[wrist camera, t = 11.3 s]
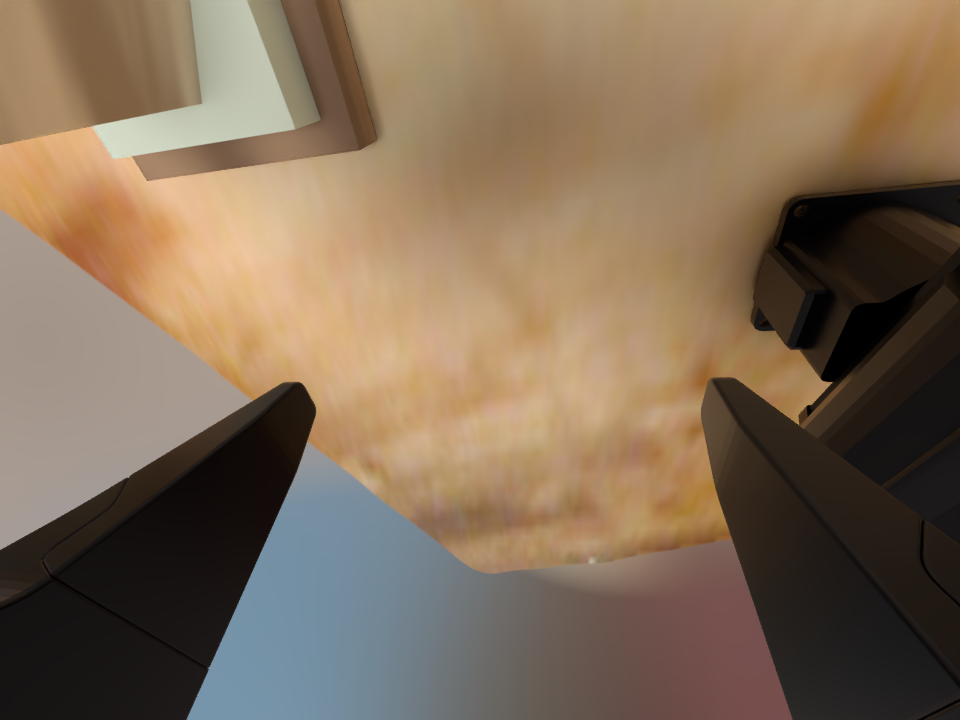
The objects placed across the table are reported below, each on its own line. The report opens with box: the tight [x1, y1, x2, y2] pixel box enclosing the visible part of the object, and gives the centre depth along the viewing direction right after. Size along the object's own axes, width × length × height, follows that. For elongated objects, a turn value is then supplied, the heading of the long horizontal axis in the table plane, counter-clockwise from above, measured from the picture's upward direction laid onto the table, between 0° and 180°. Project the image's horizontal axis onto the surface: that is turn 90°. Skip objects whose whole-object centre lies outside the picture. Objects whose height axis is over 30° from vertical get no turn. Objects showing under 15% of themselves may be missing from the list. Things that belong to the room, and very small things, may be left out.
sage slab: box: [92, 0, 321, 159], centre depth 14 cm, size 8×8×2 cm
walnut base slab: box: [132, 0, 377, 181], centre depth 15 cm, size 11×11×2 cm
